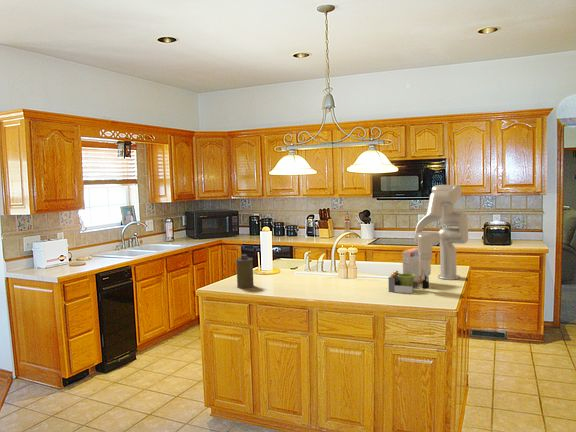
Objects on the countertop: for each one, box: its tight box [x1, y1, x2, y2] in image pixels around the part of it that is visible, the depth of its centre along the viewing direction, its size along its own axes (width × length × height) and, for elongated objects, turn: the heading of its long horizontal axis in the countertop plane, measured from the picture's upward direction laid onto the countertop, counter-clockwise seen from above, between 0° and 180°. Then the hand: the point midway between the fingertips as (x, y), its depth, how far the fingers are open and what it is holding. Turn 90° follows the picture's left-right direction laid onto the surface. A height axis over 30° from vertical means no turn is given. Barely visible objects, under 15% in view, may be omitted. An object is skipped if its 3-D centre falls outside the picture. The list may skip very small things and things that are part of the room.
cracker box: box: [401, 247, 422, 284], centre depth 283 cm, size 14×6×21 cm, turn 137°
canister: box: [235, 254, 255, 289], centre depth 292 cm, size 11×10×20 cm
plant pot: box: [398, 273, 415, 286], centre depth 269 cm, size 9×9×9 cm
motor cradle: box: [387, 270, 419, 295], centre depth 269 cm, size 15×14×10 cm
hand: (425, 288), depth 264 cm, fingers closed
